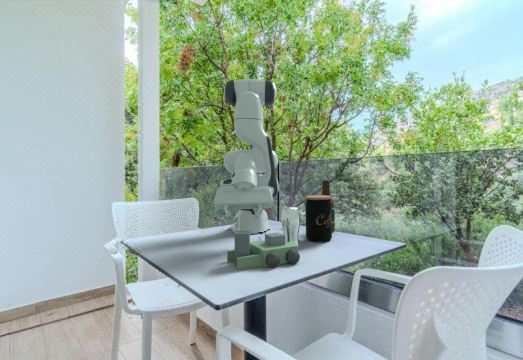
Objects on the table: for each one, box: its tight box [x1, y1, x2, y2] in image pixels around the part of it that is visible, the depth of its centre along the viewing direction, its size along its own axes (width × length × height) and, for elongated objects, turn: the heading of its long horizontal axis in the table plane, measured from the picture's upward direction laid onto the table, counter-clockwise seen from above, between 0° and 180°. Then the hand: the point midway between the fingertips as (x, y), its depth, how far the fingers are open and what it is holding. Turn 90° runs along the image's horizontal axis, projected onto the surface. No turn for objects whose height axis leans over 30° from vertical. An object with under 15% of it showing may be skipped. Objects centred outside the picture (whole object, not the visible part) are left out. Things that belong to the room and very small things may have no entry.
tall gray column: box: [233, 231, 251, 267], centre depth 98 cm, size 4×4×10 cm
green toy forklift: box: [226, 232, 301, 271], centre depth 101 cm, size 16×20×8 cm
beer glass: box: [280, 206, 301, 249], centre depth 117 cm, size 7×7×15 cm
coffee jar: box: [305, 194, 333, 243], centre depth 130 cm, size 11×11×18 cm
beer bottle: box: [321, 179, 336, 233], centre depth 146 cm, size 8×8×24 cm
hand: (242, 217), depth 104 cm, fingers open, 8 cm apart
